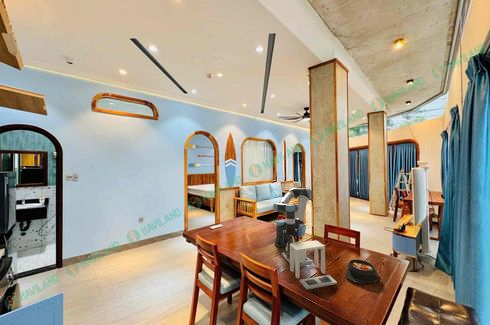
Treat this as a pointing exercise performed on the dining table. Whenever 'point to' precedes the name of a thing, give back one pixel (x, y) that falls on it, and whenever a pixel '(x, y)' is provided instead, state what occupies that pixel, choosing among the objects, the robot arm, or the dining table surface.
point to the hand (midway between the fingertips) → (290, 250)
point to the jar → (300, 255)
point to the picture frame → (304, 263)
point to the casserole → (361, 272)
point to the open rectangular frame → (319, 280)
